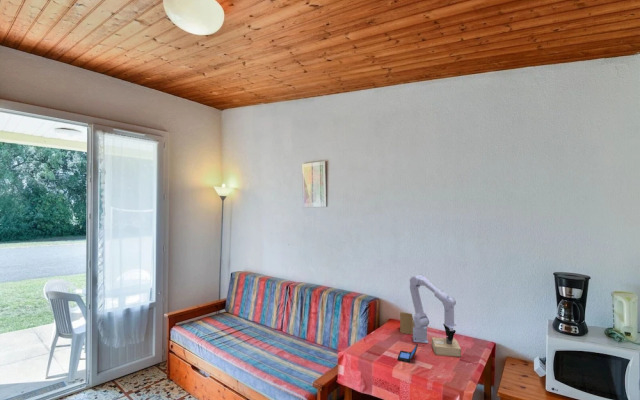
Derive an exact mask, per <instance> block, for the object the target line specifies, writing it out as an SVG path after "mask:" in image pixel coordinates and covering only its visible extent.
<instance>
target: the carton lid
mask: <svg viewBox="0 0 640 400" xmlns="http://www.w3.org/2000/svg"><path fill="white" fill-rule="evenodd" d="M432 340H433V343H434V345H435V347H438V348H448V349H459V350H461V351H462V348H461V346H460V344H459V342H458V341H457V339H455V338H453V340H452V341H449V340H448V336H445V338H443V337H442V338H441V337H431V341H432Z"/></svg>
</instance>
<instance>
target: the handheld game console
mask: <svg viewBox="0 0 640 400" xmlns="http://www.w3.org/2000/svg"><path fill="white" fill-rule="evenodd" d="M418 346H419V345H418V343H417V344H416V345H415V346H414V348H413V349H412V351H406V350H400V351H399V354H398V355H397V358H396V359H397V361H400V362H404V363H408V364H410V363H411V360H412V359H413V357H414V356H415V355H416V352H417V349H418Z"/></svg>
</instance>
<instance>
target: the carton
mask: <svg viewBox="0 0 640 400" xmlns="http://www.w3.org/2000/svg"><path fill="white" fill-rule="evenodd" d="M431 347H432V350H433V352H434V355H435V356H446V357H453V358H454V357H457V358H461V357H462V349H461V350H459V349H448V348H438V347H435V345H434V343H433V340H432V339H431Z"/></svg>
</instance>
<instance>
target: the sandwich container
mask: <svg viewBox="0 0 640 400" xmlns="http://www.w3.org/2000/svg"><path fill="white" fill-rule="evenodd" d="M399 313H400V314H399V319H400V320H399V321H400V323H399V325H400V326H399V327H400V328H399V331H400V333H401V334H407V335H412V336H413V327H416V326H415V325H414V316H413V313H409V312H401V311H400V312H399Z"/></svg>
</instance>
